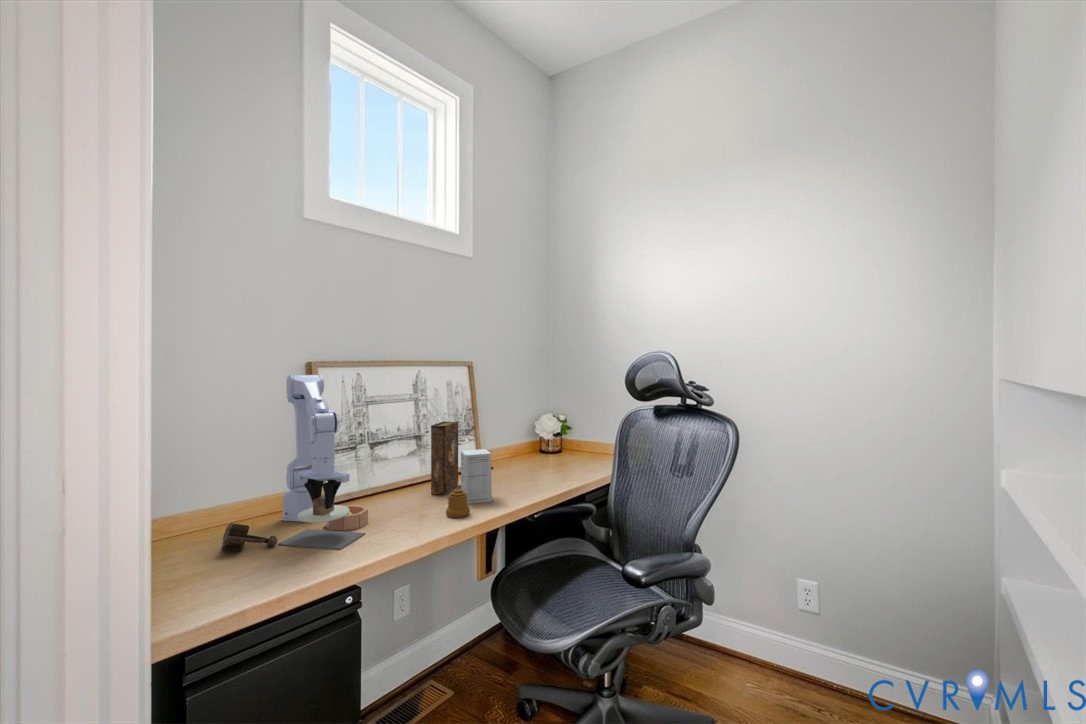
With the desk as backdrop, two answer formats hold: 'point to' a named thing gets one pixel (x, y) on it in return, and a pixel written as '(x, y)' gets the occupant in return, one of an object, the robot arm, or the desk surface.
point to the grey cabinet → (476, 475)
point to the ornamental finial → (457, 504)
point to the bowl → (350, 519)
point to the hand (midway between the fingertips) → (323, 507)
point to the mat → (322, 539)
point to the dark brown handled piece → (242, 538)
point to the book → (444, 457)
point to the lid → (322, 512)
